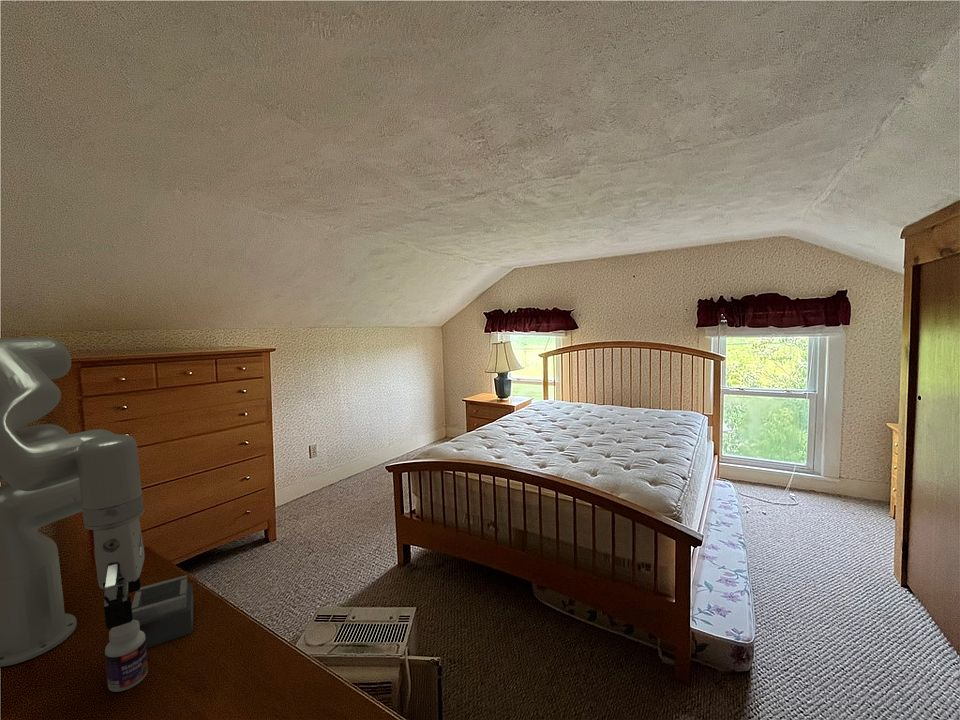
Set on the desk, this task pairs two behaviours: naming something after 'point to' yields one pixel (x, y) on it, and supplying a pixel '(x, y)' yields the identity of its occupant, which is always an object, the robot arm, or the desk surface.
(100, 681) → the desk surface
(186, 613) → the grey open box
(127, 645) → the pill bottle
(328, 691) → the desk surface
